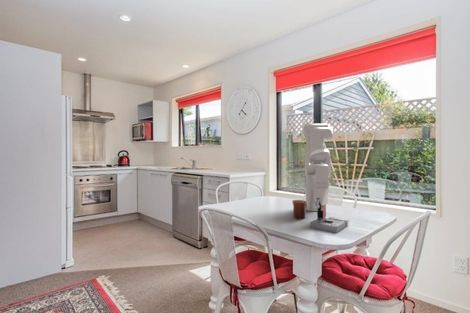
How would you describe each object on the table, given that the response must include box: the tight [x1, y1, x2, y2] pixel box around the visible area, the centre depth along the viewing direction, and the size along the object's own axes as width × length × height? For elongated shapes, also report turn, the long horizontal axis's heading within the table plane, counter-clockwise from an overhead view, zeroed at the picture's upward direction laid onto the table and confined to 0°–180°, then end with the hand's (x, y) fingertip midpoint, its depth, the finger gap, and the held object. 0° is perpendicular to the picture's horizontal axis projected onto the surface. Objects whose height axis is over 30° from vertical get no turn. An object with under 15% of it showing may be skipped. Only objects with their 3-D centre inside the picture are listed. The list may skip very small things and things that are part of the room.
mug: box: [291, 199, 307, 220], centre depth 168 cm, size 12×9×10 cm
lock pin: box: [316, 204, 326, 219], centre depth 159 cm, size 3×3×10 cm
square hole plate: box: [309, 217, 347, 234], centre depth 146 cm, size 14×14×3 cm
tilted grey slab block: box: [327, 216, 350, 228], centre depth 153 cm, size 10×3×3 cm, turn 52°
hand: (321, 216), depth 159 cm, fingers closed on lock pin, 3 cm apart
